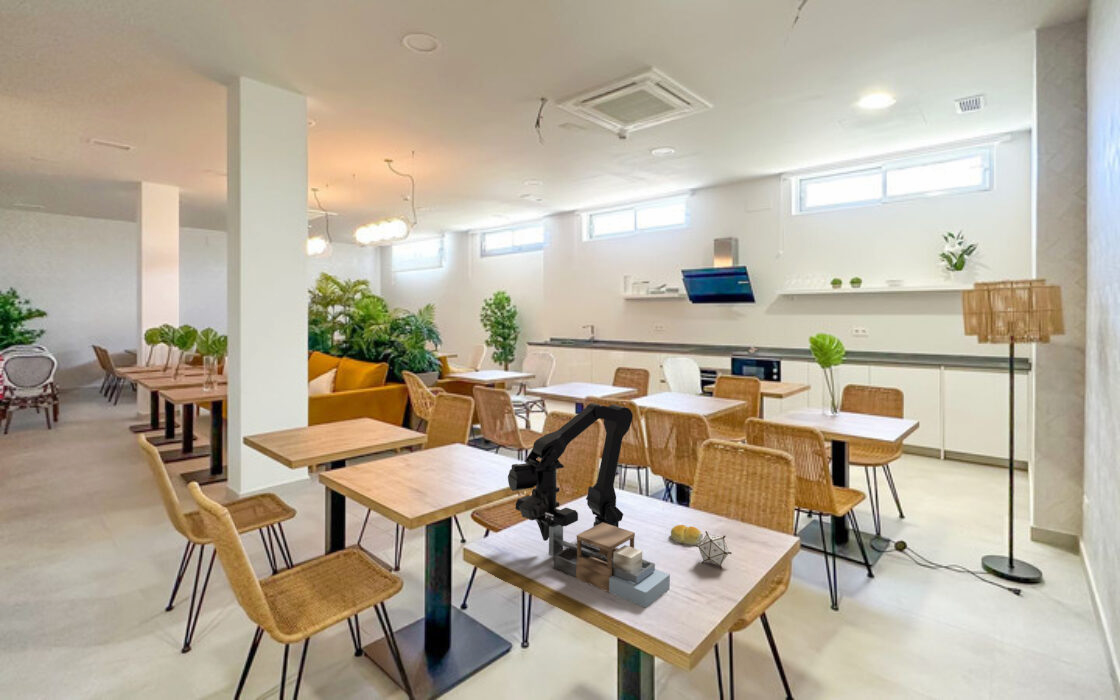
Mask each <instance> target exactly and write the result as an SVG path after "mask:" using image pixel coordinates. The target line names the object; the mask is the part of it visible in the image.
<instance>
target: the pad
mask: <svg viewBox="0 0 1120 700" xmlns="http://www.w3.org/2000/svg"><path fill="white" fill-rule="evenodd" d="M643 569H644V568H642V570H643ZM670 578H671V574H670V573H667V572H665V571H662V570H659V569H655V571H654V572H653V573H651V574H650V575H648V576H647V577H646V578H644V579H643V580H641V581H640V582H639V583H637V584H636V583H633V582H630V581H628V580H625V579H623V578H620V577H618V576H615V575H613V576H612V577H610V578H609V592H608V593H610V594H611V595H615V596H617V597H619V598H622V599H624V600H627V601H629V602H631V603H633V604H636V605H638V606H641V607H643V608H648V606H650V605H651V604H652V603H654V602H655V601H656V600H657V599H658V598H660V597H661V596H662V595H663V594H665V593H666V592H667V591H668V590H670V587H671V586H670V585H671V584H670V583H671V581H670V580H671V579H670Z"/></svg>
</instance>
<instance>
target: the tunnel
mask: <svg viewBox="0 0 1120 700" xmlns="http://www.w3.org/2000/svg"><path fill="white" fill-rule="evenodd" d="M635 535H636V532H634V531H630V530H628V529H624V528H621V527H620V526H618V527H616V526H612V525H609V524H606V523H603V522H602V523H600V524H598V525H596V526H594V525H593V527H590V528H588V529H587V530H585V531H582V532H581V533H579V534H576V543H574V545H577V551H576V550H573V549H570V548H568V547H566V548H565V549H563V551H562V552H560V553H558V554H556V555H554V557H553V570H554V571H555V570H556V572H557V571H558V572H560V573H563V574H565V575H567V576H569V577H572V578H574V579H577V580H579V581H582V582H583V583H586V584H589V585H591V586H594V587H596V588H598V589H601V590H602V591H605V592H608V593H610V592H609V578H610V577H612V576H613V574H612V559H613V558H614V551H616V550H618V549H619V546H621V545H623V544H625V543H626V542H629V547H632V548H635V537H636V536H635ZM581 547H582V548H585V549H588V550H591V551H593V552H596V553H599V554H601V555H604V556H607V562H605V561H602V560H599V559H597V558H594V557H591V556H589V555H586V554H584V553H581Z"/></svg>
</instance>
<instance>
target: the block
mask: <svg viewBox="0 0 1120 700" xmlns="http://www.w3.org/2000/svg"><path fill="white" fill-rule="evenodd" d="M642 559H643V550H640V549H638V548H636V547H634V548H632V547H630V545H629V546H628V545H626V544H624V545H622V546H621V547H618V550H616V551H614V558H613V566H615V567H617V568H620V569H623V570H625V571H628V572H631V573H633V574H637V573H639V572H640V571H642Z"/></svg>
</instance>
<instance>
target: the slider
mask: <svg viewBox="0 0 1120 700" xmlns="http://www.w3.org/2000/svg"><path fill="white" fill-rule="evenodd" d="M564 547H565V548H570V549H573V550H576V551H577V545H575V543H571V542H569V541H566V540H564V526H560V525H558V524H552V525H550V526H549V538H548V555H549V556H551V557H553V558H554V555H556V554H558V553H560V552H562V551H564ZM581 553H584V554H586V555H589V556H591V557H594V558H597V559H599V560H602V561H605V562H607V556H604V555H601V554H599V553H596V552H593V551H591V550H588V549H585V548H582V547H581ZM642 568H644V569H643V570H642V571H640V572H639V573H637V574H633V573H631V572H628V571H625V570H623V569H620V568H617V567H615V566H613V559H612V574H613V575H615V576H618V577H620V578H623V579H625V580H628V581H630V582H633V583H636V584H637V583H639V582H640V581H641V580H643V579H644V578H646V577H647V576H648V575H650V574H651V573H653V572H654V571H655V568H656V563H654V562H651V561H649V560H646V559H643V558H642Z"/></svg>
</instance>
